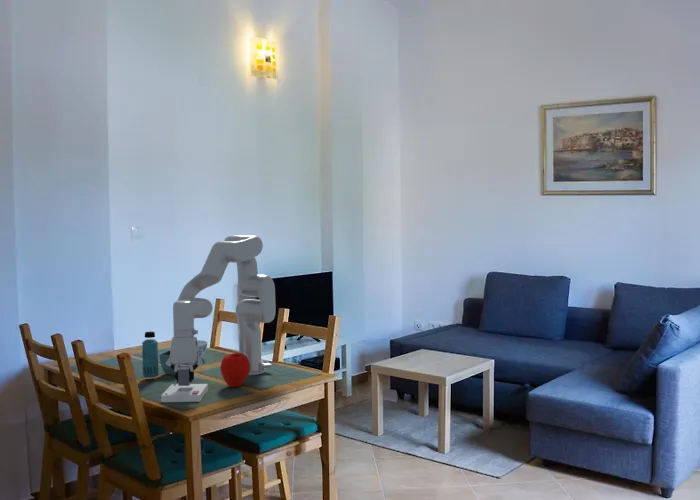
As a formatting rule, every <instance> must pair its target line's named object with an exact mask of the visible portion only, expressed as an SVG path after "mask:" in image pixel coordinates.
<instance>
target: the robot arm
mask: <svg viewBox="0 0 700 500" xmlns="http://www.w3.org/2000/svg"><path fill="white" fill-rule="evenodd" d="M263 247H264V244H263V241H262V239H261V238H260V237H259V236H257V235H243V234H242V235H241V234H237V235H235V234H234V235H233V234H232V235H228V236H227V237H225V238H224V241H216V242H215V243H213V245H212V247H211V249H210V251H209V253H208V256H207V257H206V260H205V262H204V264H203V266H202V268H201V270H200V272H199V273H197V274H196V275H195V276H193V278H191V279H190V280H189V281H188V282H187V283H186V284H185V285H184V287H183V288H182V289H181V292H180V294H179V296H178V298H177V301H174V303H172V304H173V305H172V317H173V318H172V319H173V320H172V323H173V330H172V331H173V336H172V337H171V341H170V349H169V351H170V357H169V358H168V360H167V362H166V365H168V366H170V367H171V368H172V369H173V370H174V372H175V375H174V376H175V379H174V380H176V384H178V367H179V366H180V364H185V365H189V367H190V372H189V382H191V383H193V380H195V371H196V369H197V368H198V367H200V366H201V365H203V364H204V361H203V359H202V357H201V356H199V351H198V342H197V340H198V338H197V336H196V335H198V334H199V330H197V329H195V319H205V318H207V317H209V316H210V315H212V311H213V304H212V302H211V301H210V300H209V299H206V298H201V297H197V295H198V294H199V293H201V292H202V291H203V290H204V289H207V288H209V287H212V286H214V285H216V284H218V283H220V282H221V281H222V279H223V277H224V274H225V271H226V270H227V267H228V265H229V263H232V264H236V269H237V287H238V292H239V294H240V295H241V296H245V297H250V298H251V299H250V298H245V299H241V300H239V302H237V304H236V307H235V316H236V319H237V326H238V353H242V354H244V355H246V356H247V358H248V360H249V362H250V372H249V374H248V376H258V375H262V374H265V372H266V369H272V368H273V366H272V365H273V364H272V363H269V362H267V363H265V362H264V360H263V359H262V331H261V327H260V325H259V323H263V324H268V323H271V322H273V320H274V319H275V317H276V311H277V310H276V308H277V307H276V305H277V304H276V287H275V286H276V285H275V282H274V280H273V278H272V277H271V276H270V275H266V274H259V272H258V271H259V270H258V269H259V268H258V262H257V259H256V257H257V256H259V255H260V254H261V253H262V251H263V249H264V248H263ZM252 297H253V299H252ZM255 298H258V299H255ZM174 364H175V365H174Z"/></svg>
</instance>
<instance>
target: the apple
mask: <svg viewBox="0 0 700 500" xmlns="http://www.w3.org/2000/svg"><path fill="white" fill-rule="evenodd" d="M249 372H250V362H249V360H248V358H247V356H246V355H244V354H242V353H239V352H235V353H229V354H226V355H225V356H223V358H222V360H221V364H220V374H221V376H222V379H223V380H224V382H225V384H226V385H227V386H228V387H230V388H236V387H240V386H242V385H243V384H244V382H245V381H246V379H247V378H248V377H249V375H248V374H249Z"/></svg>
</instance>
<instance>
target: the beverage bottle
mask: <svg viewBox="0 0 700 500" xmlns="http://www.w3.org/2000/svg"><path fill="white" fill-rule="evenodd" d="M155 333H156V332H155V331H144V338H147V339H144V341H142V343H141V344H142V345H141V347H142V349H141V351H142V352H141V353H142V355H141V357H142V376H143V378H149V379H150V378H151V379H152V378H156V377H159V366H160V365H159V362H160V360H159V348H158V347H159V343H158V341H157V340H156V339H154V338H155V337H156V334H155Z"/></svg>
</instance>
